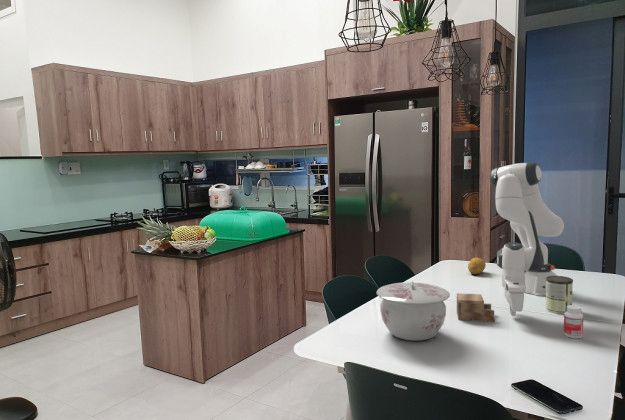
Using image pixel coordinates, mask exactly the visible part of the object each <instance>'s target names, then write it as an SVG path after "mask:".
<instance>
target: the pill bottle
mask: <svg viewBox="0 0 625 420" xmlns="http://www.w3.org/2000/svg"><path fill="white" fill-rule="evenodd" d="M563 315H564V316H563V335H564V336H565V337H568V338H570V339H580V338H583V336H584V335H583V334H584V314H583V313H582V307H581V306H579V305H575V304H572V305H568V306H567V311H566V312H565V313H564V314H563Z"/></svg>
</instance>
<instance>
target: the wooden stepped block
mask: <svg viewBox="0 0 625 420" xmlns="http://www.w3.org/2000/svg"><path fill="white" fill-rule="evenodd" d="M482 295H483V294H481V293H480V294H479V293H459V292H458V293H456V315H457V316H456V317H457V319H458V320H459V321H473V322H474V321H476V322H477V321H478V322H479V321H481V322H495V310H494V309H492V303H485V300H484V298H483V296H482ZM484 309H491V310H484Z"/></svg>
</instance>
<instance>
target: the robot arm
mask: <svg viewBox="0 0 625 420" xmlns="http://www.w3.org/2000/svg"><path fill="white" fill-rule="evenodd" d="M541 180H542V170H541V167H540V165H539V164H538V163H536V162H535V161H534V162H532V161H531V162H530V161H529V162H520V163H513V164H509V165H504V166H503V165H502V166H501V167H500V166H498V167H495V168H493V169H492V170H491V171H490V172H489V183H490V185H491V187H493V189H495V197H494V198H495V209H496V212H497V214H498V215H499V216H500V217H501V218H503V219H504V220H507V221H509V222H510V223H509V225H510V228H511V230H512V231H513V232H515V234H516V235H517V236H518V238H519V240H520V242H521V243H518V242H506V243H505V244H504V246H503V247H501V248H500V249H499V250H497V252H496V266H497V267H499V268H500V269H501V270H502V273H501V286H502V287H503V288H504V297H505V300H506V302H507V303H508V305H509V314H510V316H511V317H516V316H517V312H519V313H520V312H522V311H523V309H524V301H525V300H524V299H525V293H526V294H531V295H535V296H537V297H539V296H542V297H543V296H545V297H546V277H548V276H559V275H558V274H557V273H556V272H554V270H555V269H556V267H555V266H554V265H553V264H550V263H548V259H549V258H548V257H549V256H548V255H549V249H548V247H547V245H546V244H544V243H543V242H542V241H541V240H540V238H539V236H540V237H546V238H548V237H549V238H551V237H552V238H553V237H558V236H560V235H561V234H562V233H563V231H564V228H565V223H564V221H563V219H562V217H560V216H558V215H557V214H555V213H554V212H553V211H552V210H551V209H550V208H549V207H548V206H547V205H546V203H545V202H544V200H543V197H542V195H541V192H540V189H539V185H538V183H540V181H541Z"/></svg>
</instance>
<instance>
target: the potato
mask: <svg viewBox="0 0 625 420" xmlns="http://www.w3.org/2000/svg"><path fill="white" fill-rule="evenodd" d="M467 268H468V272H470V273H471V274H472V275H480V274H481V273H483V272H484V270H485V269H486V261H485V260H484V259H482V258H480V257H474V258H471V259H470V260H469V262H468V264H467Z"/></svg>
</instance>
